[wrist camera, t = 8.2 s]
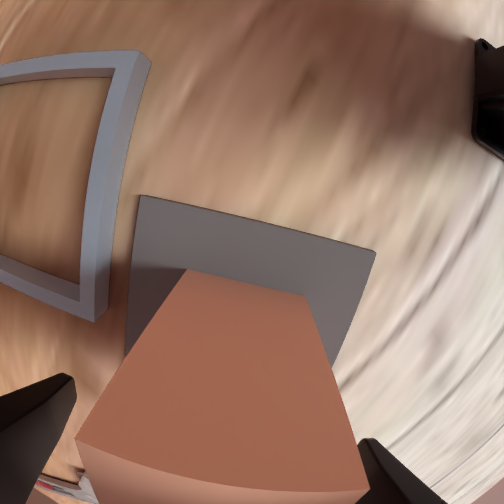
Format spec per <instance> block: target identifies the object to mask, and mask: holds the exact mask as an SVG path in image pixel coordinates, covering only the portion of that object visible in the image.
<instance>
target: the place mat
mask: <svg viewBox="0 0 504 504" xmlns="http://www.w3.org/2000/svg"><path fill="white" fill-rule="evenodd" d="M375 256H376V252H374V251H373V250H369V249H366V248H362V247H358V246H355V245H351V244H347V243H344V242H340V241H336V240H332V239H329V238H325V237H321V236H317V235H313V234H309V233H306V232H302V231H298V230H294V229H290V228H286V227H282V226H278V225H274V224H270V223H266V222H262V221H258V220H253V219H249V218H245V217H241V216H237V215H233V214H228V213H224V212H220V211H215V210H211V209H207V208H202V207H198V206H193V205H189V204H184V203H180V202H175V201H171V200H166V199H162V198H157V197H152V196H147V195H141V197H140V203H139V209H138V215H137V222H136V229H135V236H134V243H133V251H132V260H131V269H130V279H129V290H128V303H127V320H126V344H125V358H126V356H127V355H128V353H129V352H130V350H131V349H132V347H133V346H134V344H135V343H136V341H137V340H138V339H139V337H140V336H141V334H142V333H143V331H144V330H145V328H146V327H147V325H148V324H149V322H150V321H151V320H152V318H153V317H154V315H155V314H156V312H157V311H158V310H159V308H160V307H161V305H162V304H163V302H164V301H165V300H166V298H167V297H168V295H169V294H170V292H171V291H172V290H173V288H174V287H175V285H176V284H177V283H178V281H179V280H180V278H181V277H182V276H183V274H184V273H185V272H186V270H187V269H190V270H194V271H198V272H202V273H207V274H211V275H215V276H219V277H223V278H228V279H232V280H236V281H240V282H245V283H249V284H253V285H258V286H262V287H267V288H271V289H276V290H280V291H285V292H289V293H294V294H299V295H303V296H305V297H306V299H307V302H308V305H309V307H310V310H311V313H312V316H313V318H314V321H315V324H316V327H317V329H318V332H319V335H320V338H321V340H322V343H323V346H324V349H325V352H326V354H327V357H328V360H329V363H330V366H331V368H332V366H333V364H334V362H335V360H336V357H337V355H338V353H339V351H340V348H341V346H342V344H343V341H344V339H345V337H346V334H347V332H348V329H349V327H350V325H351V322H352V320H353V317H354V315H355V312H356V310H357V307H358V304H359V302H360V299H361V296H362V294H363V291H364V288H365V286H366V283H367V280H368V277H369V274H370V271H371V268H372V265H373V263H374V260H375Z"/></svg>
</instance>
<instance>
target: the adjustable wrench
mask: <svg viewBox="0 0 504 504" xmlns="http://www.w3.org/2000/svg"><path fill="white" fill-rule="evenodd" d="M76 475H77V476H78V477H80V478H81V479H80V481H79V485H74V484H71V483H67V482H64V481H60V480H57V479H54V478H51V477H47V476H45V475H42V474H40V476H39V478H38V480H37V481H36V483H35V486H37V487H40V488H43V489H45V490H48V491H51V492H54V493H57V494H60V495H64V496H67V497H70V498H74V499H78V500H81V501H85V502H89V503H94V504H99V502H98V500H97V498H96V496H95V493H94V491H93V489H92V486H91V484H90V481H89V479H88V476H87V474H86V471H84V473H81V472H78V473H77V474H76ZM55 486H56V487H55Z"/></svg>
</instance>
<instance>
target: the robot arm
mask: <svg viewBox="0 0 504 504" xmlns="http://www.w3.org/2000/svg"><path fill="white" fill-rule="evenodd" d="M480 131H481V135H480ZM472 135H473V138H474V139H475V140H476V141H477V142H478V143H480V144H481V145H483V146H484V147H486V148H487V149H489V150H490V151H492V152H493V153H495V154H496V155H497V156H499V157H500V158H502V159H503V160H504V46H502V47H499V48H497V49H496V48H494V47H493V46H492V45H491V44H489V43H488V42H487V41H486V40H484V39H482V38H480V39H478V40H476V41H475V93H474V108H473V119H472ZM76 399H77V394H76V388H75V381H74V379H73V377H72V376H69V375H67V374H65V373H59V374H56V375H54V376H52V377H49V378H47V379H44V380H42V381H39V382H37V383H34V384H31V385H29V386H26V387H24V388H21V389H19V390H16V391H14V392H11V393H8V394H6V395H3V396H0V504H25V503H26V501H27V499H28V497H29V495H30V493H31V491H32V489H33V487H34V485H35V483H36V481H37V480H38V478H39V476H40V474H41V472H42V470H43V468H44V466H45V465H46V463H47V461H48V459H49V457H50V455H51V454H52V452H53V450H54V448H55V447H56V445H57V443H58V441H59V439H60V437H61V435H62V433H63V430H64V428H65V426H66V423H67V421H68V419H69V416H70V414H71V412H72V409H73V407H74V405H75V403H76ZM357 447H358V450H359V453H360V457H361V460H362V463H363V466H364V470H365V473H366V476H367V480H368V483H369V486H370V490H369V491H368V492H367V493H366V494H364V495H363V496H362V497H361V498H360V499H359V500H358V501H357V502H356V503H355V504H448V503H446V502H445V501H444V500H443V499H442V500H441V498H440V497H439V496H438V495H437V494H436V493H435V492H433V491H432V490H431V489H430V488H429V487H428V486H427V485H425V484H424V483H423V482H422V481H421V480H420V479H419V478H417V477H416V476H415V475H414V474H413V473H412V472H411V471H410V470H409V469H407V468H406V467H405V466H404V465H403V464H402V463H401V462H400V461H399V460H398V459H396V458H395V457H394V456H393V455H392V454H391V453H390V452H389V451H388V450H387V449H386V448H385V447H384V446H382V445H381V444H380V443H379V442H378V441H377V440H376V439H374V438H364V439H362V440H361V441H360V442H359V444H358V445H357Z"/></svg>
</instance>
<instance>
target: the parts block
mask: <svg viewBox="0 0 504 504" xmlns="http://www.w3.org/2000/svg"><path fill="white" fill-rule="evenodd" d="M74 439H75V442H76V445H77V448H78V451H79V454H80V457H81V460H82V463H83V466H84V468H85V471H86V474H87V476H88V479H89V481H90V484H91V486H92V489H93V491H94V493H95V496H96V498H97V500H98V502H99V504H355V503H356V502H357V501H358V500H359V499H360V498H361V497H362V496H363V495H364V494H366V493H367V492H368V491H369V490H370V486H369V483H368V480H367V476H366V473H365V470H364V466H363V463H362V460H361V457H360V453H359V450H358V447H357V444H356V441H355V438H354V435H353V431H352V428H351V425H350V422H349V419H348V416H347V413H346V410H345V407H344V404H343V401H342V398H341V395H340V392H339V389H338V386H337V383H336V380H335V377H334V374H333V372H332V369H331V366H330V363H329V360H328V357H327V354H326V352H325V349H324V346H323V343H322V340H321V338H320V335H319V332H318V329H317V327H316V324H315V321H314V318H313V316H312V313H311V310H310V307H309V305H308V302H307V299H306V297H305V296H303V295H299V294H294V293H289V292H285V291H280V290H276V289H271V288H267V287H262V286H258V285H253V284H249V283H245V282H240V281H236V280H232V279H228V278H223V277H219V276H215V275H211V274H207V273H202V272H198V271H194V270H190V269H187V270H186V272H185V273H184V274H183V276H182V277H181V278H180V280H179V281H178V283H177V284H176V285H175V287H174V288H173V290H172V291H171V292H170V294H169V295H168V297H167V298H166V300H165V301H164V302H163V304H162V305H161V307H160V308H159V310H158V311H157V312H156V314H155V315H154V317H153V318H152V320H151V321H150V322H149V324H148V325H147V327H146V328H145V330H144V331H143V333H142V334H141V336H140V337H139V339H138V340H137V341H136V343H135V344H134V346H133V347H132V349H131V350H130V352H129V353H128V355H127V356H126V358H125V359H124V361H123V362H122V364H121V365H120V367H119V368H118V370H117V372H116V373H115V375H114V376H113V378H112V379H111V381H110V382H109V384H108V385H107V387H106V389H105V390H104V392H103V393H102V395H101V396H100V398H99V400H98V401H97V403H96V404H95V406H94V407H93V409H92V411H91V412H90V414H89V415H88V417H87V419H86V420H85V422H84V424H83V425H82V427H81V428H80V430H79V432H78V433H77V435H76V437H75V438H74Z"/></svg>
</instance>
